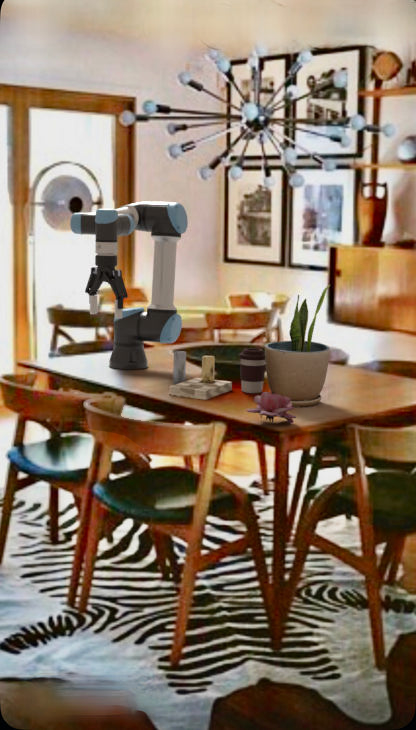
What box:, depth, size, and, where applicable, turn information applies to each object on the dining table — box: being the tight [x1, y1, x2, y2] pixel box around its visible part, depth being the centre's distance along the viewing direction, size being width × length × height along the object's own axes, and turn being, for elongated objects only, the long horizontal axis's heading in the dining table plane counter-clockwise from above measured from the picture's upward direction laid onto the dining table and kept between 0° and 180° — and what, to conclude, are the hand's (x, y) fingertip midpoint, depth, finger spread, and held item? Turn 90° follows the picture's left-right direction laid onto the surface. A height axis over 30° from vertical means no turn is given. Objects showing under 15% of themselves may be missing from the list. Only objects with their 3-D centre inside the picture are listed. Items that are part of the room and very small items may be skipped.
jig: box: [168, 377, 233, 401], centre depth 352 cm, size 20×14×3 cm
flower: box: [246, 391, 297, 425], centre depth 307 cm, size 15×15×10 cm
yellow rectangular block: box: [201, 355, 216, 384], centre depth 355 cm, size 4×4×12 cm
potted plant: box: [264, 284, 331, 408], centre depth 336 cm, size 21×22×40 cm
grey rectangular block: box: [172, 350, 187, 385], centre depth 364 cm, size 4×4×12 cm
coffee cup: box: [238, 347, 266, 394], centre depth 355 cm, size 10×10×15 cm
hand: (105, 316), depth 349 cm, fingers open, 13 cm apart
